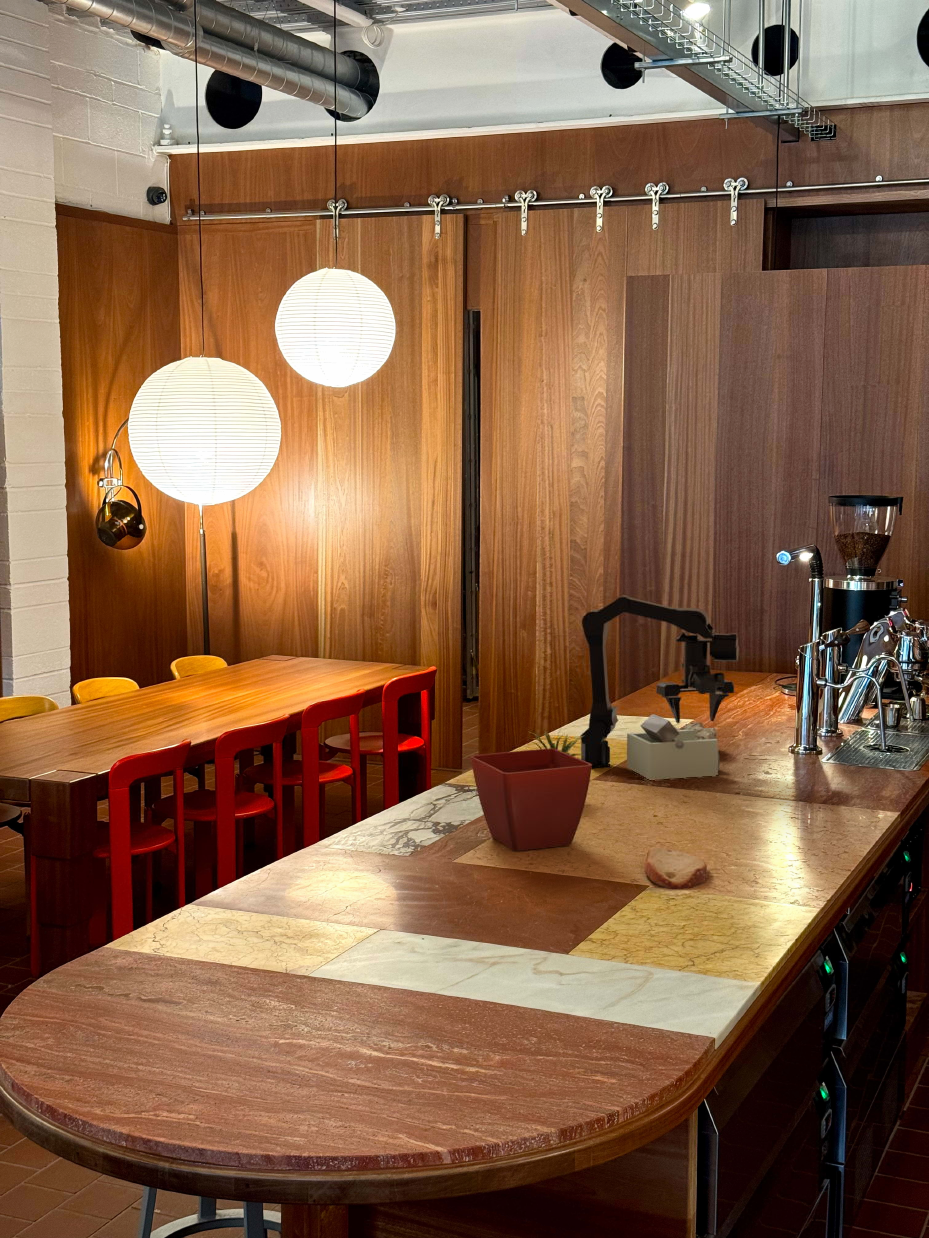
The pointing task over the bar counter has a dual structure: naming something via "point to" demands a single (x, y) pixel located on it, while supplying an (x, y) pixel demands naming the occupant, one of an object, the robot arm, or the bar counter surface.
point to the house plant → (552, 745)
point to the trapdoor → (659, 729)
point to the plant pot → (532, 796)
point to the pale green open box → (672, 756)
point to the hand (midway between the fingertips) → (695, 722)
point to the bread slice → (674, 868)
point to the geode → (700, 731)
